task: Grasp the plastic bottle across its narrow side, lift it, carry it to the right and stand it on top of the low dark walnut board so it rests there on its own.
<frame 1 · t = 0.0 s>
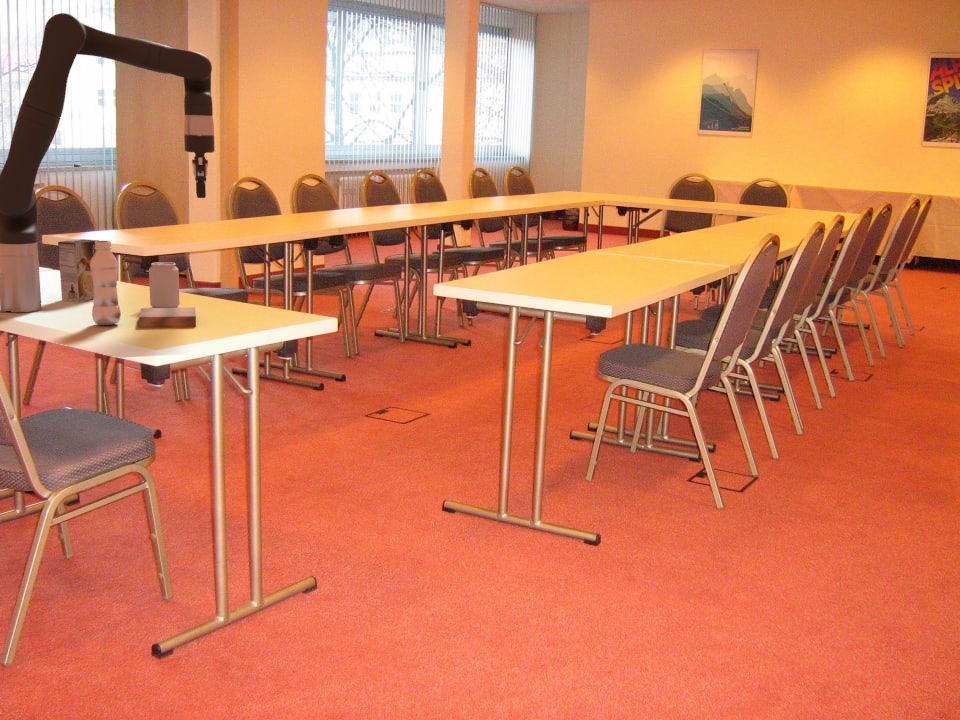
hand: (200, 196, 262), 29 cm above the table, fingers open, 8 cm apart
coffee box: (82, 299, 275), on the table
can: (165, 308, 265), on the table
walnut block: (168, 322, 245), on the table
plastic bottle: (107, 325, 239), on the table
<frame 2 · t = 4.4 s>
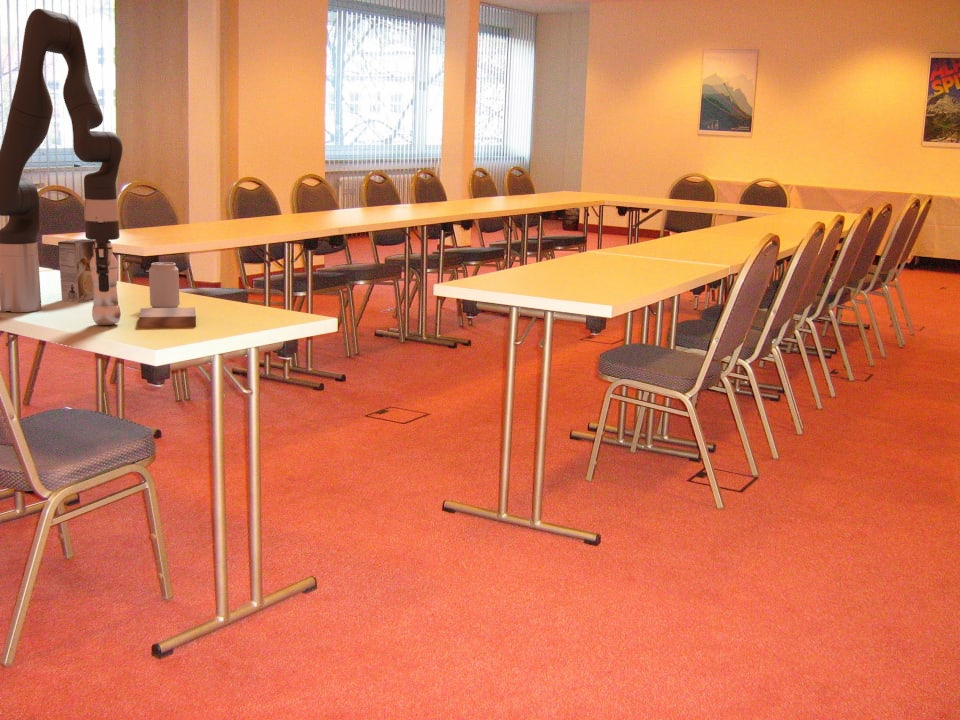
hand: (105, 289, 238), 9 cm above the table, fingers closed on plastic bottle, 6 cm apart
plastic bottle: (107, 325, 239), on the table, touching gripper
everything else where it was.
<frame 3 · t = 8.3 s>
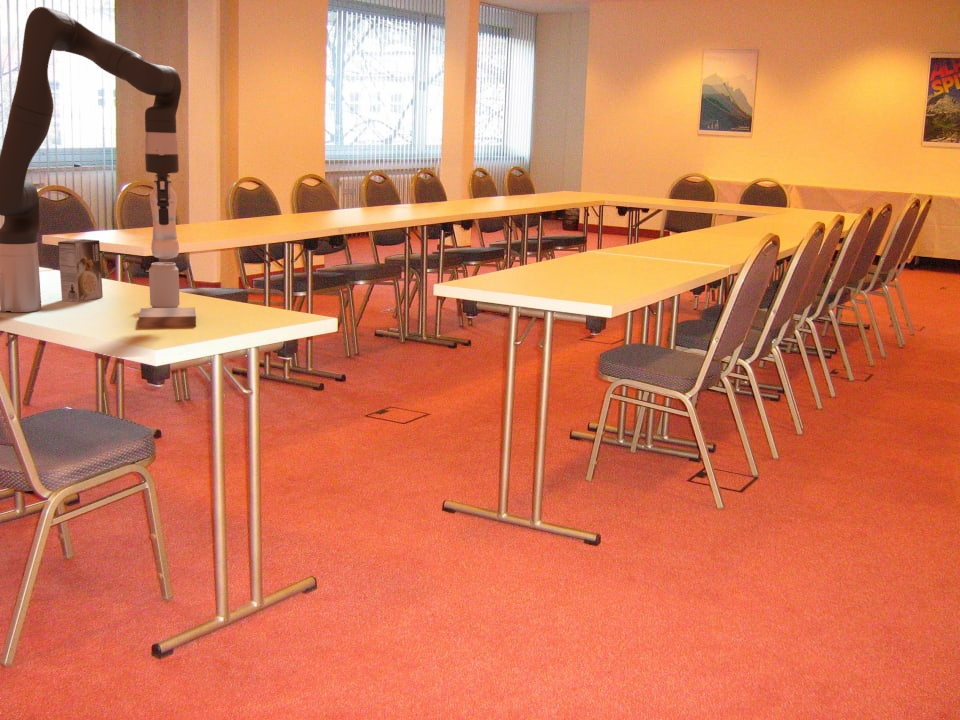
hand: (164, 223, 240), 24 cm above the table, fingers closed on plastic bottle, 6 cm apart
plastic bottle: (165, 259, 242), point 15 cm above the table, touching gripper
everything else where it was.
when the fingers open (11 cm above the table, at t = 12.0 s): plastic bottle stays where it is, resting on walnut block.
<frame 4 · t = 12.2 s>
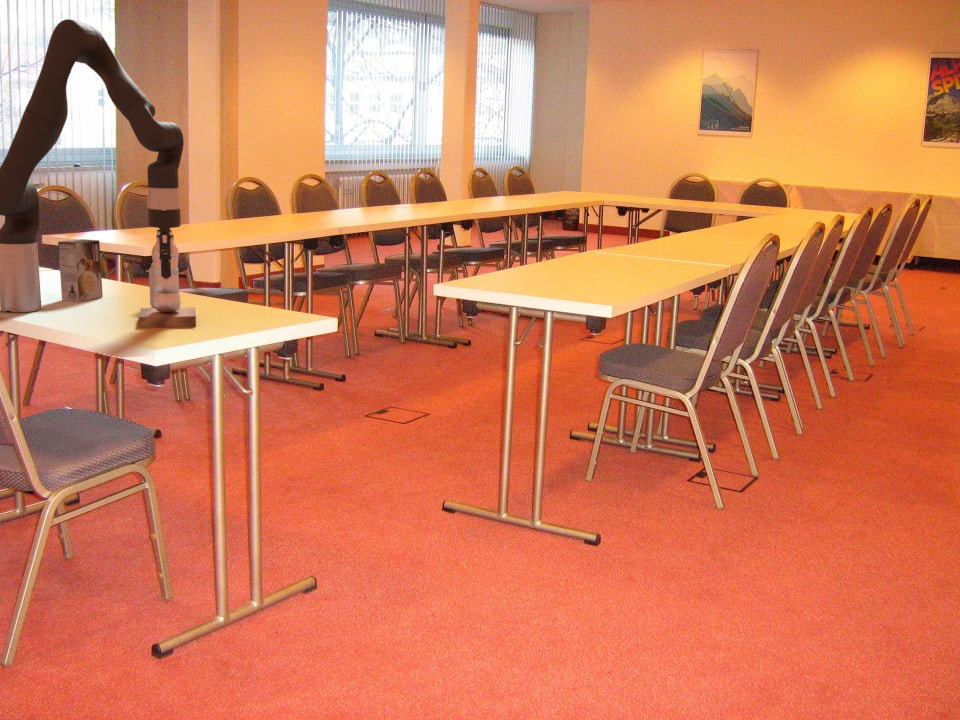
hand: (166, 275, 243), 12 cm above the table, fingers open, 7 cm apart
plastic bottle: (167, 312, 245), point 2 cm above the table, touching walnut block
everything else where it was.
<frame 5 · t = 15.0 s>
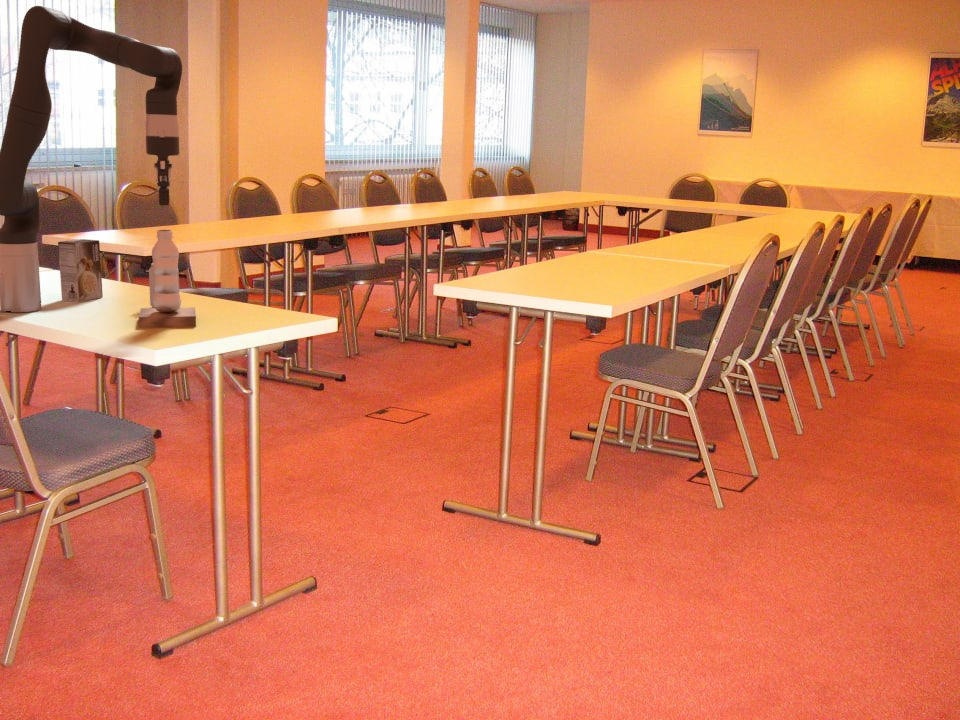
hand: (164, 204, 239), 29 cm above the table, fingers open, 8 cm apart
nothing on the table moved.
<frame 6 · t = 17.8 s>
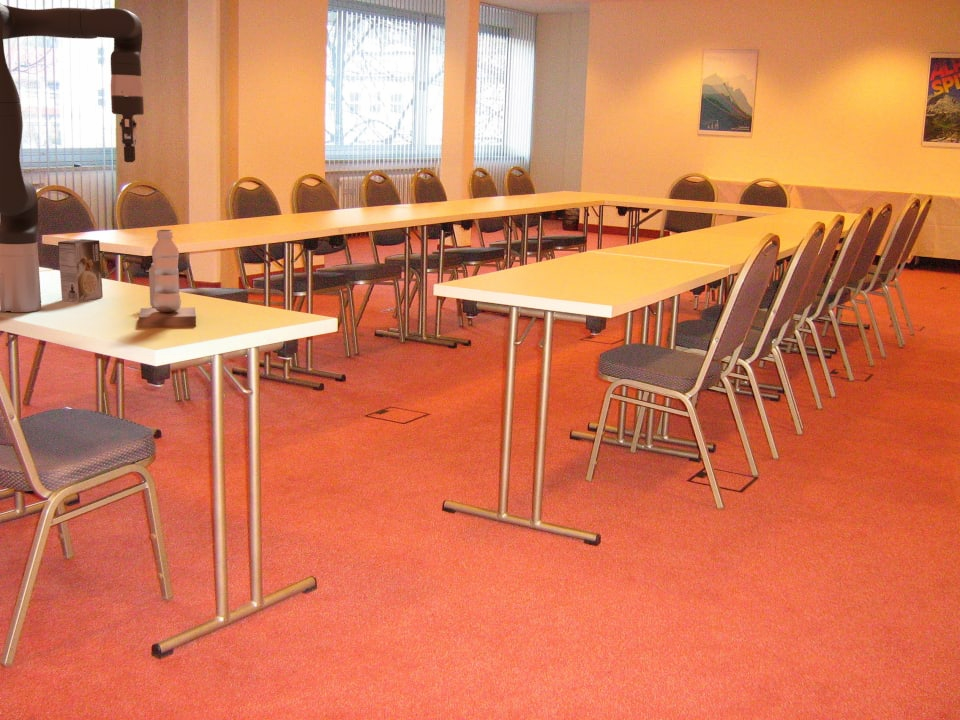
hand: (130, 161, 250), 38 cm above the table, fingers open, 8 cm apart
nothing on the table moved.
at the end: plastic bottle inside the target area on the walnut block (0.1 cm from its centre), point 2.3 cm above the walnut block's base; plastic bottle tilted 0°; the gripper is holding nothing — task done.
